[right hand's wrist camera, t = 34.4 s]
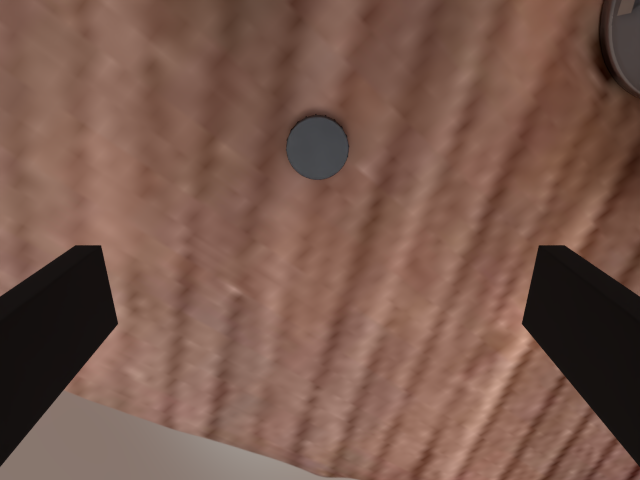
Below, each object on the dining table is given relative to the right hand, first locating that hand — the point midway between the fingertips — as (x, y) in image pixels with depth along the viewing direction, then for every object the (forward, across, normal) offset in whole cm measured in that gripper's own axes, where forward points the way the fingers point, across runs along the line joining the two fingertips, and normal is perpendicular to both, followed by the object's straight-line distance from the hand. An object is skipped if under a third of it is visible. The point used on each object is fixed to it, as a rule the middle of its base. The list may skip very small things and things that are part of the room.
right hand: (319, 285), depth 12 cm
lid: (+26, 0, 0) cm, 26 cm away
